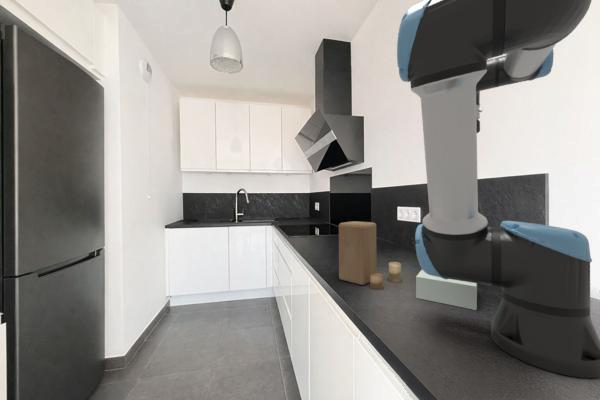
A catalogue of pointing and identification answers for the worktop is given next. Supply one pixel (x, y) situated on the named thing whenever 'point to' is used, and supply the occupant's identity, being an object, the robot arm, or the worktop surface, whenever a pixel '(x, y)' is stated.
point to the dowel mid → (395, 272)
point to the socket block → (446, 291)
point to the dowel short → (376, 281)
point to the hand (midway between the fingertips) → (466, 187)
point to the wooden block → (357, 251)
